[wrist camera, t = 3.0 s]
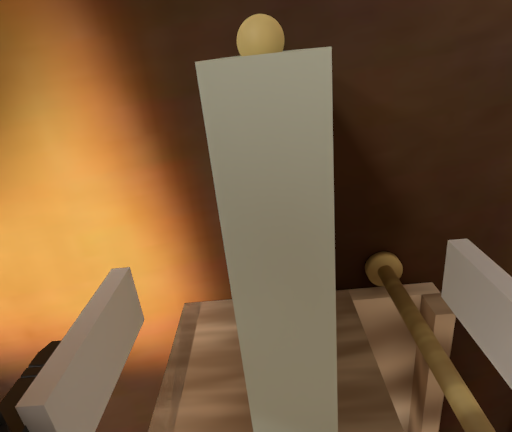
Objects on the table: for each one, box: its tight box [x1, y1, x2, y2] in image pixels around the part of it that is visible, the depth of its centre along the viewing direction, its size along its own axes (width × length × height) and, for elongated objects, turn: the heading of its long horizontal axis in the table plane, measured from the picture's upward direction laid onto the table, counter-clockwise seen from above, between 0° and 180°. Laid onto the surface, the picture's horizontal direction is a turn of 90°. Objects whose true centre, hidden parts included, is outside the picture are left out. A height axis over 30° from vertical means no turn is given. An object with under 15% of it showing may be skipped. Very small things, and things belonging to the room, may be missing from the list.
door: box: [195, 14, 338, 432], centre depth 20 cm, size 18×5×14 cm, turn 6°
